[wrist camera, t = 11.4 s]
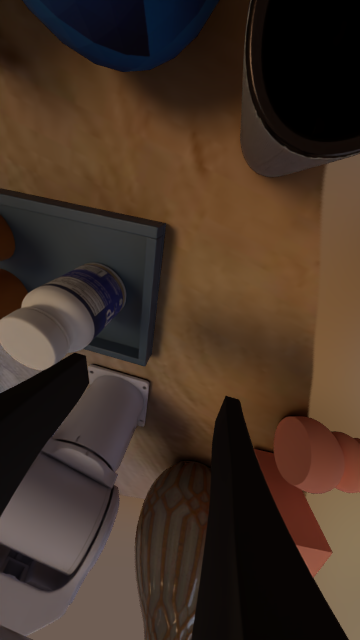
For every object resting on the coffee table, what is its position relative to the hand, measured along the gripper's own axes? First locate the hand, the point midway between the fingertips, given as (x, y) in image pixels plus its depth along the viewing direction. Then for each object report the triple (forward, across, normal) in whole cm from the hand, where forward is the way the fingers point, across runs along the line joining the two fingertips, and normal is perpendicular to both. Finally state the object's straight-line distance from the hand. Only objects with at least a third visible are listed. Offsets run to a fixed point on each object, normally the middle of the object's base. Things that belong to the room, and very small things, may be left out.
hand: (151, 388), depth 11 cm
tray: (+10, +13, +1) cm, 17 cm away
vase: (+10, -6, +30) cm, 32 cm away
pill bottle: (+10, +8, +1) cm, 13 cm away
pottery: (+5, -12, +17) cm, 22 cm away
